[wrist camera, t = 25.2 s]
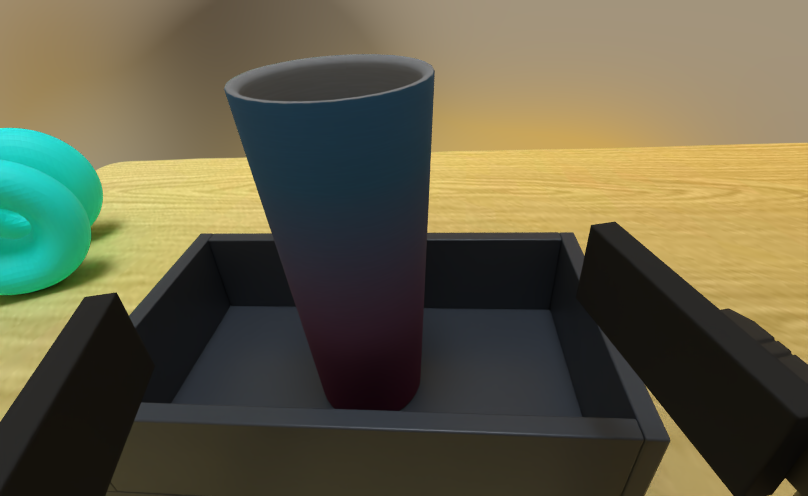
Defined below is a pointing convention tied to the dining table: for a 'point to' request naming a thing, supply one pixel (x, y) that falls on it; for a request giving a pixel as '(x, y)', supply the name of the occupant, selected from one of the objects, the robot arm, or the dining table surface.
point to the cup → (347, 210)
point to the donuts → (43, 210)
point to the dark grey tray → (378, 429)
